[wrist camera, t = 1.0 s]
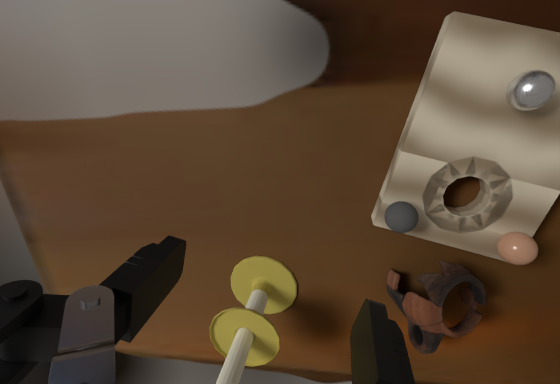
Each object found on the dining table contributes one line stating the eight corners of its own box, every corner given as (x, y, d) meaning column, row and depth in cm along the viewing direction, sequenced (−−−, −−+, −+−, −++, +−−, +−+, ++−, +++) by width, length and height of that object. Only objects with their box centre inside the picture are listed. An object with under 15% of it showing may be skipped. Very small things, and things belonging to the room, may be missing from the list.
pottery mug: (384, 246, 39) (434, 270, 31) (442, 245, 42) (501, 266, 34) (374, 334, 40) (420, 377, 32) (431, 327, 43) (485, 365, 35)
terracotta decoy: (499, 222, 32) (517, 237, 29) (532, 231, 32) (553, 247, 29) (484, 248, 33) (500, 266, 30) (516, 257, 33) (535, 275, 30)
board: (445, 16, 29) (454, 11, 27) (622, 53, 27) (648, 50, 25) (371, 216, 37) (373, 225, 35) (504, 252, 36) (515, 264, 33)
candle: (304, 266, 41) (251, 543, 17) (290, 320, 45) (230, 613, 20) (235, 248, 42) (88, 483, 18) (227, 302, 46) (97, 560, 21)
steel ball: (509, 66, 27) (531, 64, 24) (548, 75, 27) (575, 74, 24) (491, 104, 29) (510, 107, 25) (528, 112, 28) (552, 117, 25)
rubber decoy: (388, 193, 33) (393, 204, 30) (419, 201, 33) (427, 213, 30) (378, 219, 35) (382, 233, 31) (407, 227, 34) (414, 242, 31)
